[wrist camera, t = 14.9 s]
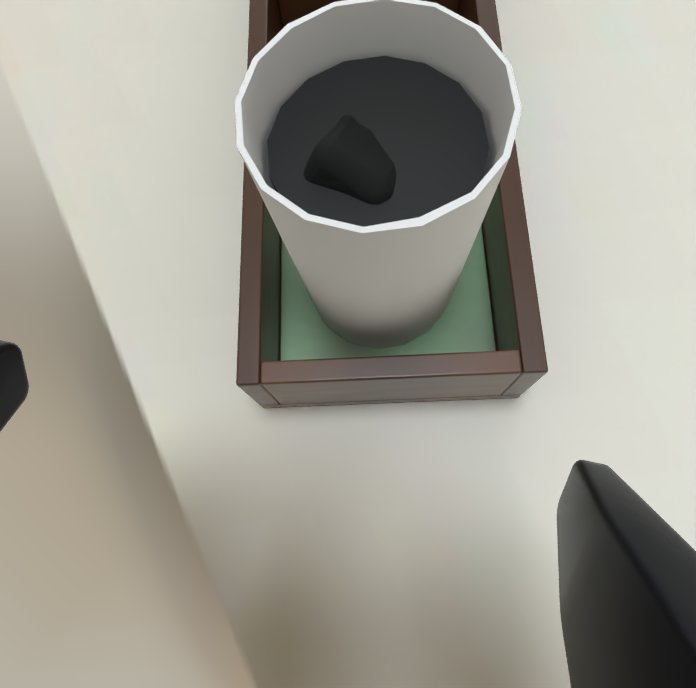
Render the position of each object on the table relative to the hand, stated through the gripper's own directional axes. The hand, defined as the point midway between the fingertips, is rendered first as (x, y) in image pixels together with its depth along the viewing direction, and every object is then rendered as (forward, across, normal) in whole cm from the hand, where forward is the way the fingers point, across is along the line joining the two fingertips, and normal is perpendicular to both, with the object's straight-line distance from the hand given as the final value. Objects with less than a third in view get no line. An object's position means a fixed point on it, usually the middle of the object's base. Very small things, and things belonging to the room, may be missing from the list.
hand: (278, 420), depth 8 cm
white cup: (+14, 0, +3) cm, 14 cm away
